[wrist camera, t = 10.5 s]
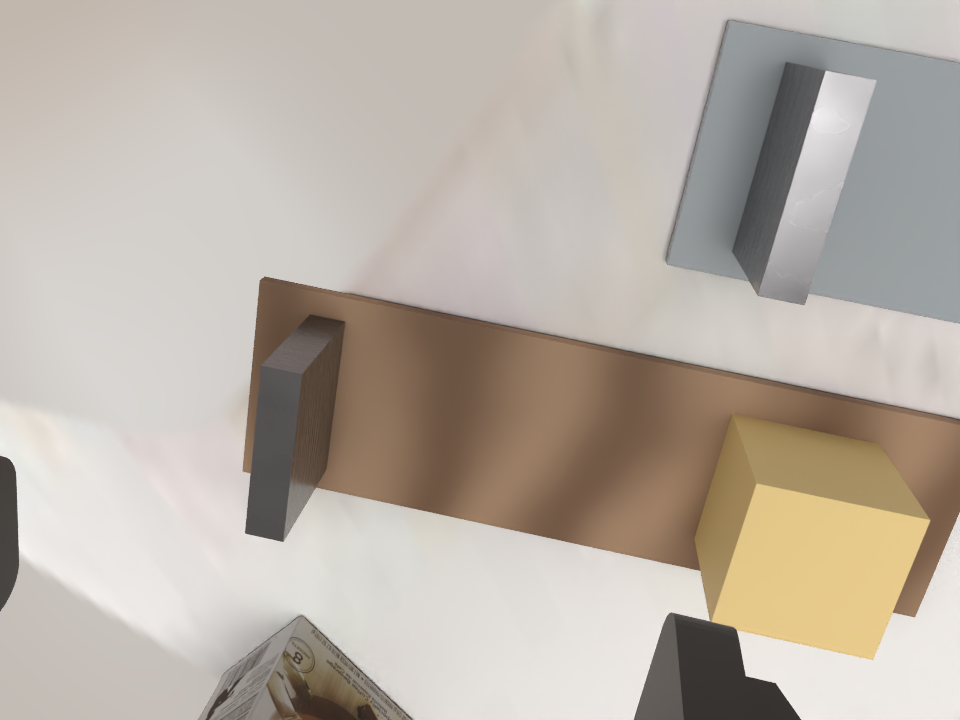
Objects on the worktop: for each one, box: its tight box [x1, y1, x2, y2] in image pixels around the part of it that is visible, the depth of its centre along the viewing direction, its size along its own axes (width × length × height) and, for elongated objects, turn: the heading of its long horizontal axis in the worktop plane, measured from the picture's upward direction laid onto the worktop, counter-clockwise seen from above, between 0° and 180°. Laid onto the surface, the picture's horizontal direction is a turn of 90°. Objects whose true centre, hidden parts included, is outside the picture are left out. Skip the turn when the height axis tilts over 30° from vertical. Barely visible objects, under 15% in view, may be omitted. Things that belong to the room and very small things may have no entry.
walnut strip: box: [243, 277, 960, 617], centre depth 36 cm, size 30×9×7 cm, turn 80°
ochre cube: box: [694, 414, 930, 660], centre depth 35 cm, size 6×6×6 cm
